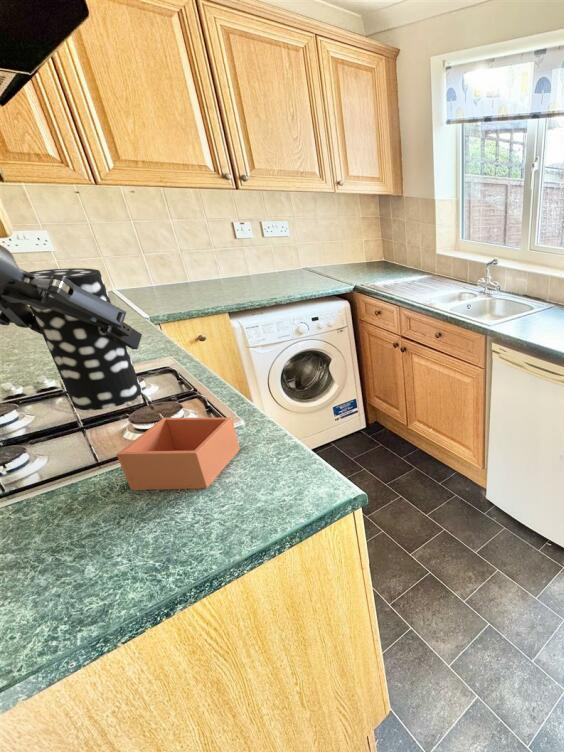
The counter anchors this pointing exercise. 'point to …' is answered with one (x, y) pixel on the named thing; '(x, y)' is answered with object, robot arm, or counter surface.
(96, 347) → the white-spotted black cylinder
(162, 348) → the counter surface
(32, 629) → the counter surface
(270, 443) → the counter surface
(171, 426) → the box
